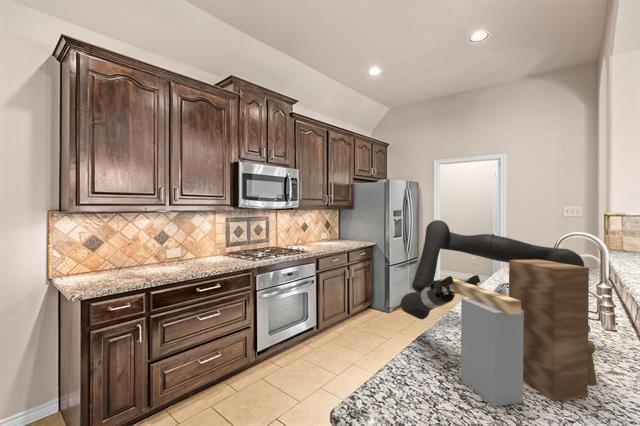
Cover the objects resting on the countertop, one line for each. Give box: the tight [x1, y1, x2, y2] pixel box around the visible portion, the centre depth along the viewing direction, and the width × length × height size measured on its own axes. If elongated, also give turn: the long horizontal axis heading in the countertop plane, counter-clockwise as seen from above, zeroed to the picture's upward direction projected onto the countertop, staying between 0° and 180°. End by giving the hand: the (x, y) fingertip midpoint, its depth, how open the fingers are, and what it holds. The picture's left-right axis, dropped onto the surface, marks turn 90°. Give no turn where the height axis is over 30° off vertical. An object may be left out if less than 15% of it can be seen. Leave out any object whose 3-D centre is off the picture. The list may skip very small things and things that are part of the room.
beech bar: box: [449, 278, 521, 315], centre depth 83 cm, size 24×3×3 cm, turn 12°
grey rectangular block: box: [460, 297, 524, 408], centre depth 79 cm, size 12×8×22 cm, turn 12°
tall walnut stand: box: [508, 259, 590, 402], centre depth 83 cm, size 14×10×32 cm
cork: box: [588, 339, 598, 386], centre depth 85 cm, size 6×6×11 cm
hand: (465, 278), depth 89 cm, fingers open, 8 cm apart
